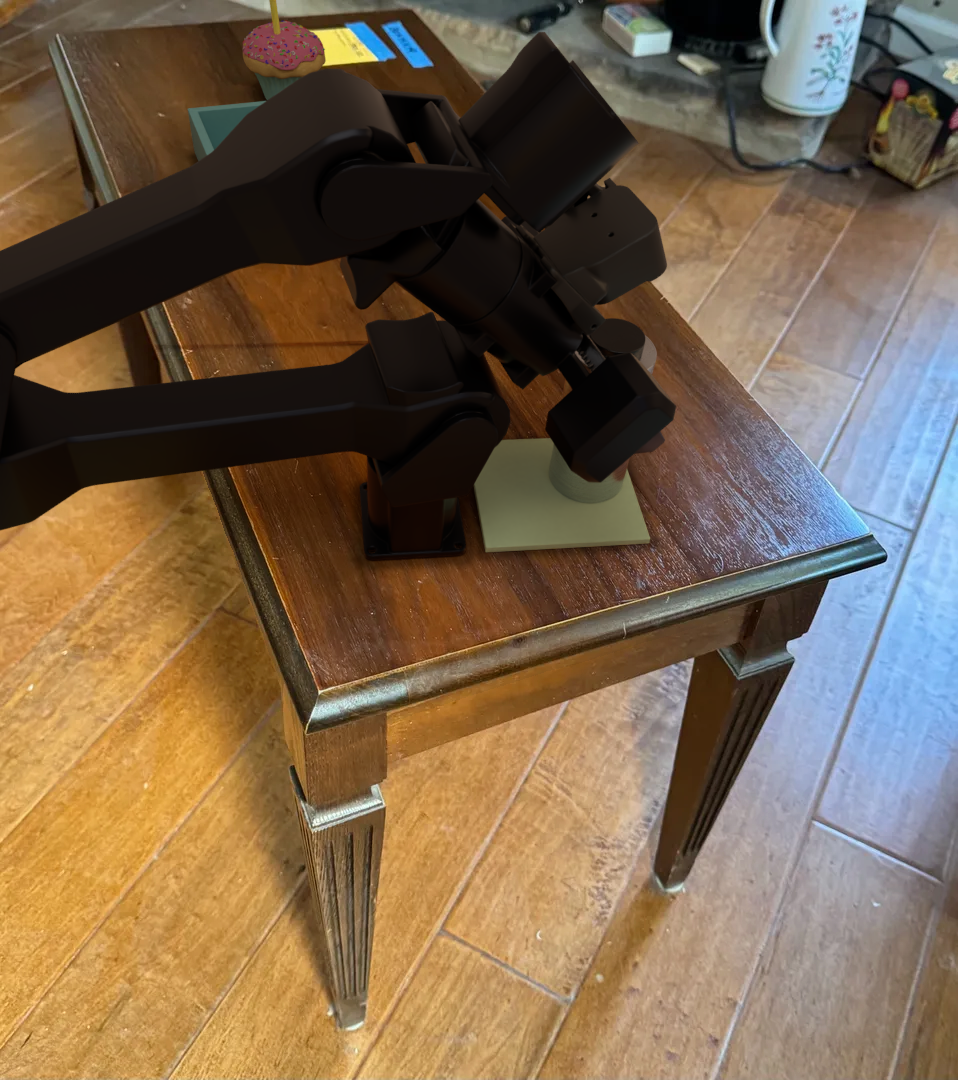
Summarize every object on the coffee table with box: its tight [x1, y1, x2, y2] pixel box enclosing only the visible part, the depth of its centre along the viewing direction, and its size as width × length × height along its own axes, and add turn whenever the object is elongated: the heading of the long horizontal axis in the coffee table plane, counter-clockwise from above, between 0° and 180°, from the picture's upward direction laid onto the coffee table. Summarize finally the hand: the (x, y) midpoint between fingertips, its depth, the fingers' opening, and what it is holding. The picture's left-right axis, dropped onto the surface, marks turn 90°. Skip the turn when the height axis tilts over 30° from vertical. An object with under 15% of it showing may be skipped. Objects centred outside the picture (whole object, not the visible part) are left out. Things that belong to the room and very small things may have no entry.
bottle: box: [549, 317, 658, 503], centre depth 61 cm, size 5×5×12 cm
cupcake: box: [242, 0, 327, 101], centre depth 96 cm, size 9×8×12 cm
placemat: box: [472, 437, 651, 553], centre depth 65 cm, size 10×11×1 cm
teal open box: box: [187, 100, 267, 162], centre depth 87 cm, size 16×13×5 cm
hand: (623, 397), depth 61 cm, fingers open, 9 cm apart
